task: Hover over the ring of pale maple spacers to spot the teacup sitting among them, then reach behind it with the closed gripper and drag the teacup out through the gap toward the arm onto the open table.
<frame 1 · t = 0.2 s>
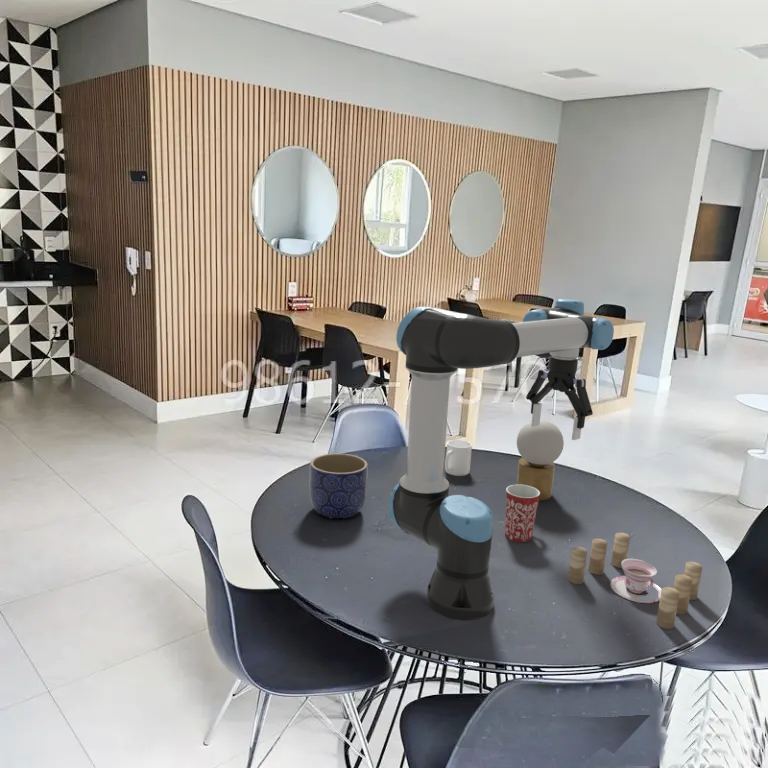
hand: (555, 432, 191), 28 cm above the table, fingers open, 13 cm apart
teacup: (636, 591, 165), on the table
cup: (454, 473, 234), on the table
mug: (521, 535, 191), on the table
planter: (337, 512, 200), on the table
lamp: (533, 496, 218), on the table
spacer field: (636, 590, 165), on the table
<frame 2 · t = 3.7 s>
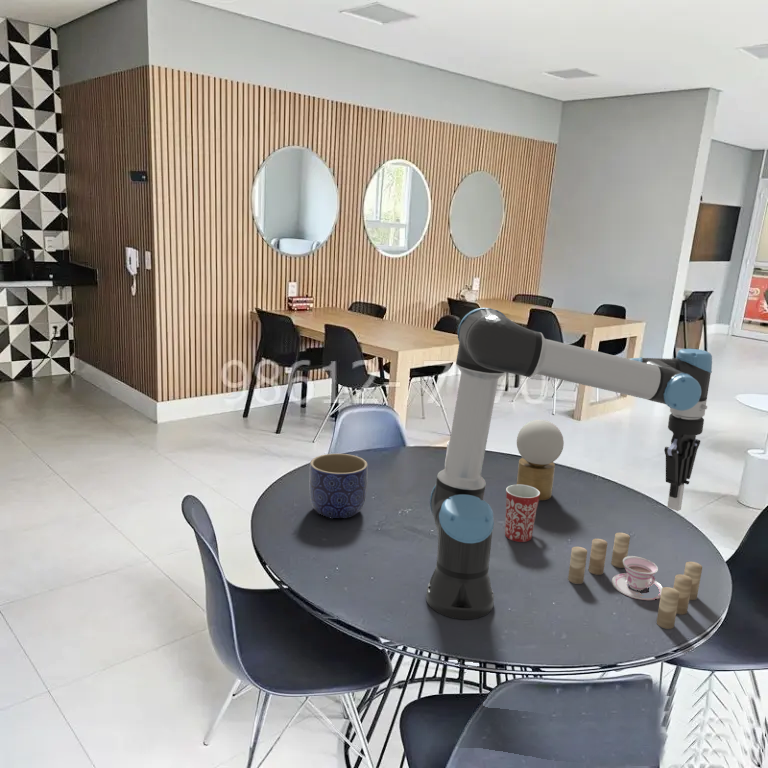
hand: (674, 508, 168), 18 cm above the table, fingers closed
teacup: (637, 588, 167), on the table
everything else where it was.
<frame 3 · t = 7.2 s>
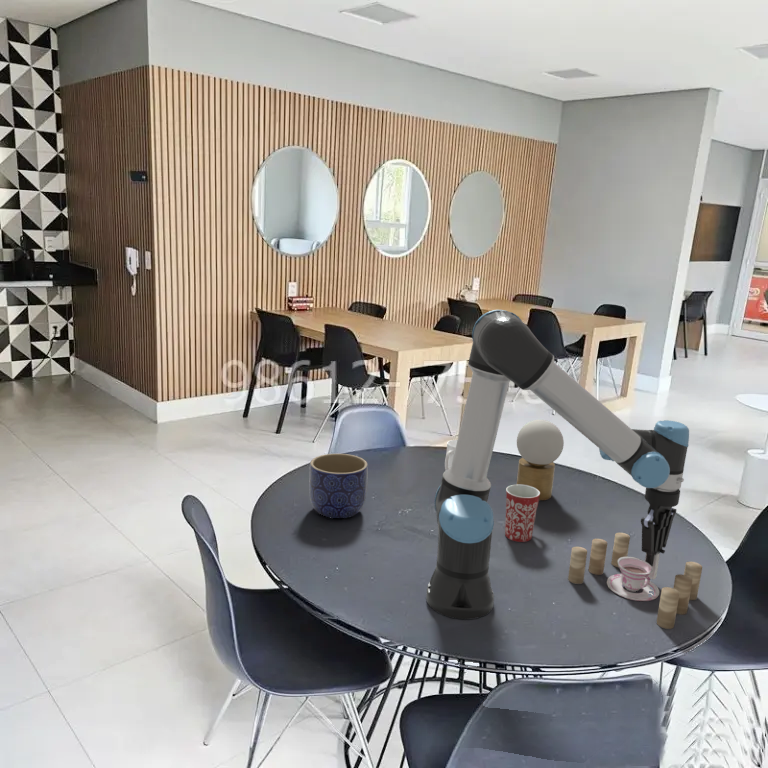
hand: (649, 576, 168), 2 cm above the table, fingers closed
teacup: (632, 589, 166), on the table
everything else where it was.
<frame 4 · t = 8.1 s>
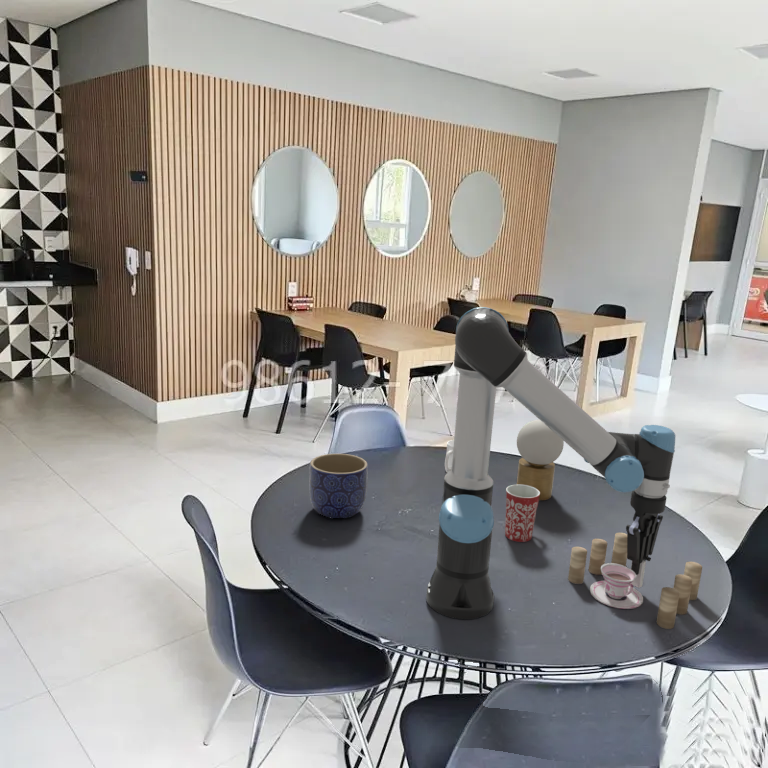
hand: (635, 584, 164), 2 cm above the table, fingers closed
teacup: (615, 596, 162), on the table, touching gripper
everything else where it was.
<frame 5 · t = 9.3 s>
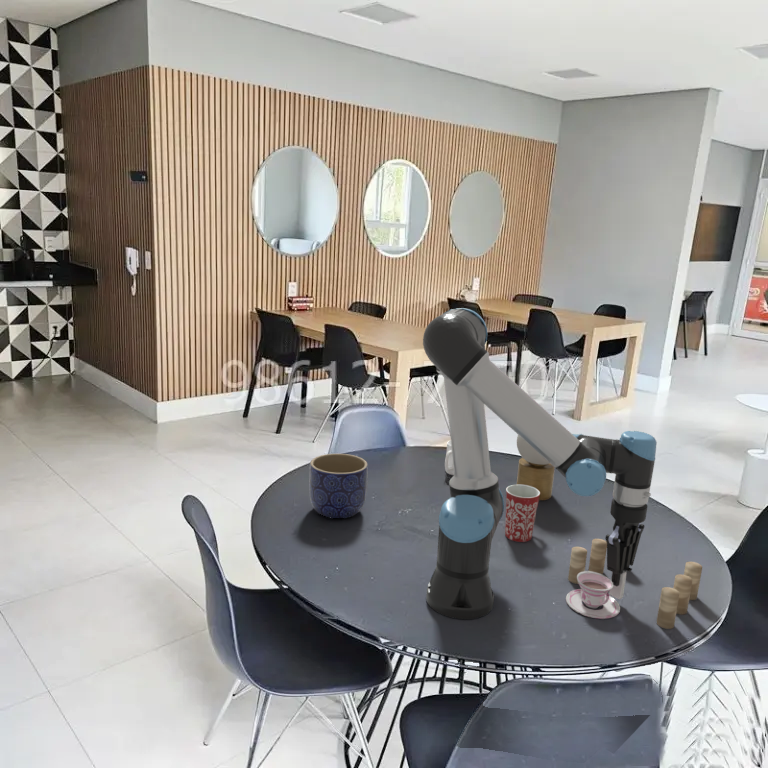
hand: (615, 595, 159), 2 cm above the table, fingers closed
teacup: (592, 605, 158), on the table, touching gripper
everything else where it was.
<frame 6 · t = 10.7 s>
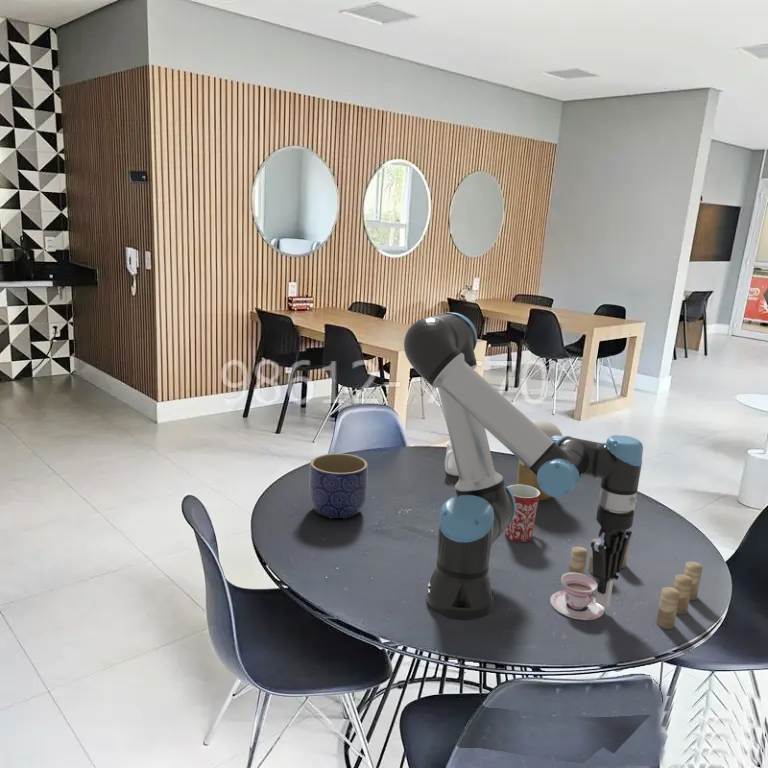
hand: (602, 604, 155), 2 cm above the table, fingers closed
teacup: (576, 607, 157), on the table
everything else where it was.
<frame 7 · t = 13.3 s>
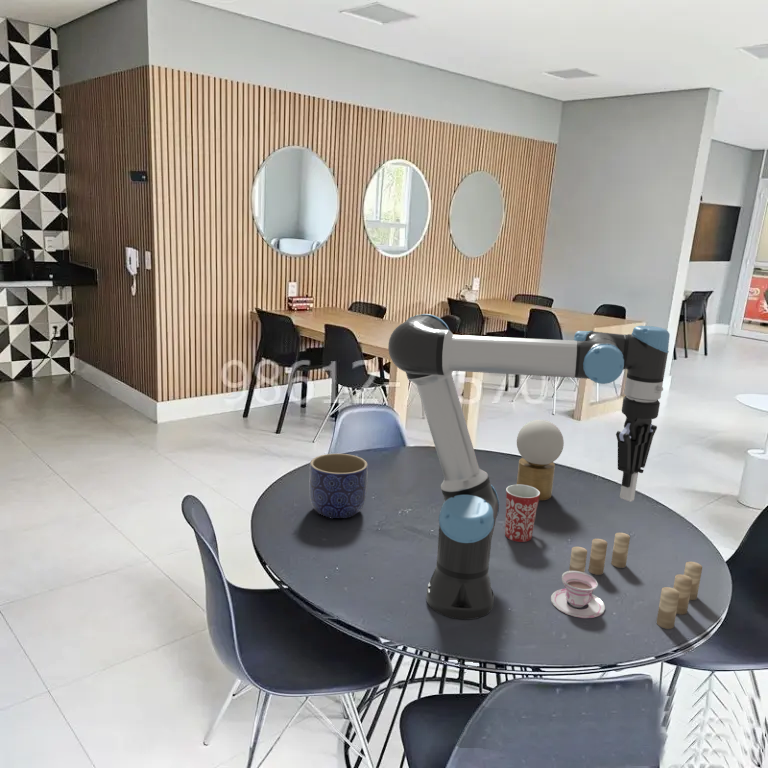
hand: (626, 498, 156), 25 cm above the table, fingers closed
nothing on the table moved.
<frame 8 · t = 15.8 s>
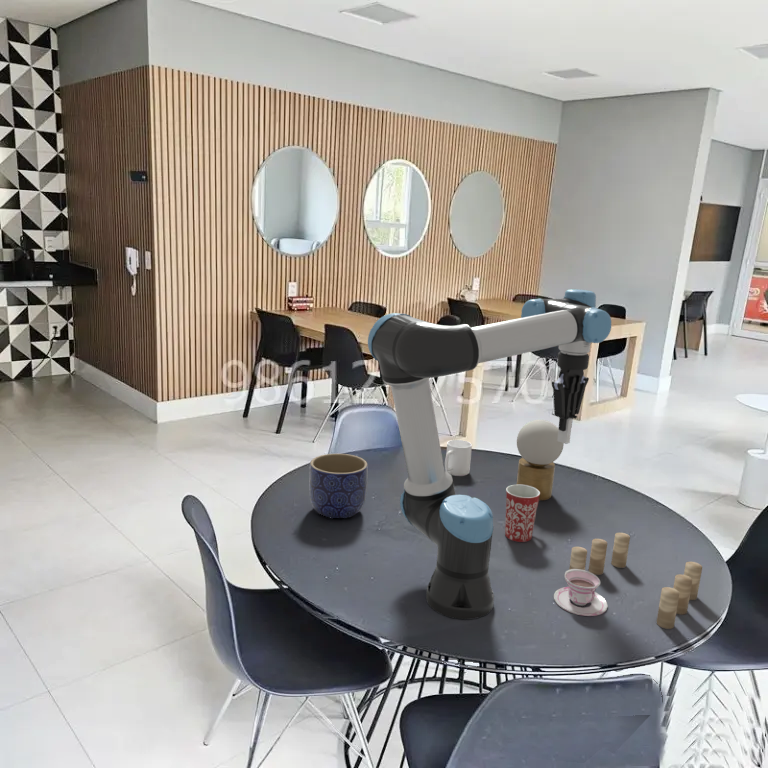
hand: (563, 441, 178), 29 cm above the table, fingers closed
teacup: (580, 603, 159), on the table
everything else where it was.
at the end: teacup inside the target area (6.1 cm from its centre), on the table; teacup touching table; teacup tilted 0° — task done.
